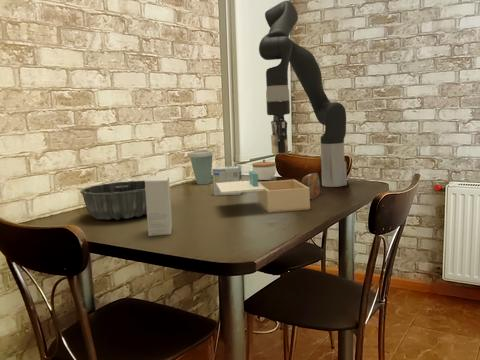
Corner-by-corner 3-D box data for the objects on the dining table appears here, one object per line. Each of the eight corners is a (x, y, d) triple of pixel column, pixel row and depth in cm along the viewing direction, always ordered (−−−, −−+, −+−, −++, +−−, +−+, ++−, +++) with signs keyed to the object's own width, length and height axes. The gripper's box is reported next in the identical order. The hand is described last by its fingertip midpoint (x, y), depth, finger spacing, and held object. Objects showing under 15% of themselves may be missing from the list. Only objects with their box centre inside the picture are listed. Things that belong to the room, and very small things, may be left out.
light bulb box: (242, 191, 195) (241, 165, 193) (240, 195, 188) (239, 167, 186) (216, 192, 196) (214, 166, 194) (213, 196, 189) (211, 168, 188)
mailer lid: (254, 181, 171) (253, 168, 171) (264, 190, 153) (263, 176, 152) (216, 184, 169) (215, 171, 169) (221, 193, 151) (220, 179, 150)
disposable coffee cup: (214, 184, 217) (211, 151, 215) (189, 185, 217) (187, 152, 215) (215, 181, 227) (213, 149, 225) (192, 182, 228) (190, 150, 225)
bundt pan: (81, 213, 171) (78, 185, 170) (155, 203, 180) (153, 177, 179) (85, 229, 147) (82, 196, 145) (171, 217, 156) (169, 186, 154)
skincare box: (151, 229, 142) (146, 176, 139) (173, 227, 142) (169, 174, 140) (148, 236, 133) (143, 180, 131) (172, 234, 134) (167, 178, 132)
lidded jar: (251, 182, 218) (250, 161, 216) (254, 178, 228) (253, 158, 227) (275, 181, 216) (274, 160, 214) (277, 177, 226) (276, 157, 225)
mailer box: (295, 198, 174) (294, 179, 173) (310, 209, 156) (309, 187, 154) (257, 201, 172) (256, 182, 171) (268, 213, 154) (267, 191, 153)
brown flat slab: (309, 201, 169) (308, 177, 167) (300, 201, 170) (299, 177, 169) (321, 193, 182) (320, 171, 181) (313, 193, 183) (312, 171, 182)
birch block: (285, 152, 164) (284, 134, 163) (288, 153, 159) (287, 134, 159) (271, 153, 163) (271, 135, 162) (274, 154, 159) (273, 135, 158)
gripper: (262, 101, 165) (265, 151, 168) (270, 100, 151) (273, 155, 154) (284, 99, 166) (286, 149, 169) (294, 99, 152) (296, 153, 155)
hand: (280, 152), depth 161 cm, fingers closed on birch block, 4 cm apart
